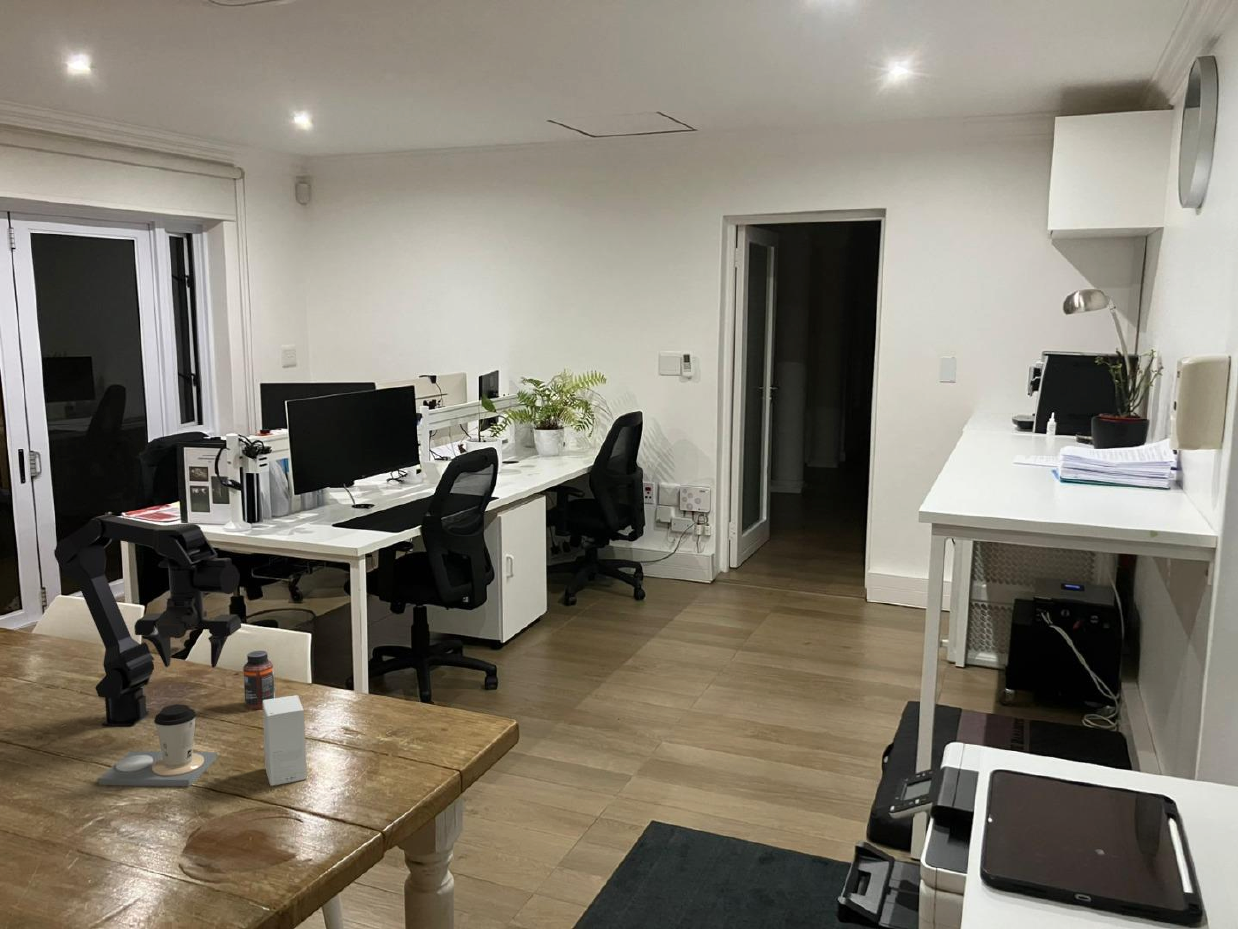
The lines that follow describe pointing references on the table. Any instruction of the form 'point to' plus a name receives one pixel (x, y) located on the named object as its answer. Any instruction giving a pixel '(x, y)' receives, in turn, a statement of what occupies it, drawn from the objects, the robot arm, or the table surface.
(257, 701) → the supplement bottle
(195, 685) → the table surface
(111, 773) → the slate board
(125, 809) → the table surface
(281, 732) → the small box
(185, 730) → the coffee cup
